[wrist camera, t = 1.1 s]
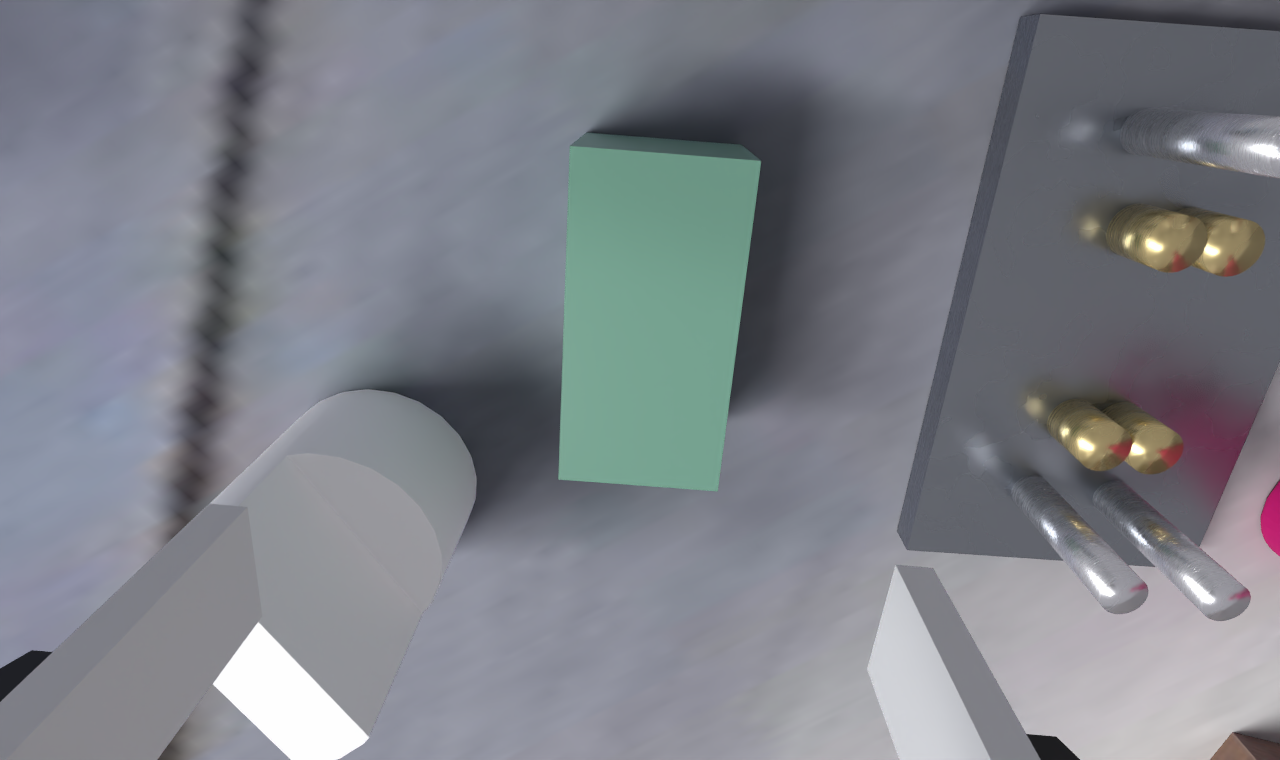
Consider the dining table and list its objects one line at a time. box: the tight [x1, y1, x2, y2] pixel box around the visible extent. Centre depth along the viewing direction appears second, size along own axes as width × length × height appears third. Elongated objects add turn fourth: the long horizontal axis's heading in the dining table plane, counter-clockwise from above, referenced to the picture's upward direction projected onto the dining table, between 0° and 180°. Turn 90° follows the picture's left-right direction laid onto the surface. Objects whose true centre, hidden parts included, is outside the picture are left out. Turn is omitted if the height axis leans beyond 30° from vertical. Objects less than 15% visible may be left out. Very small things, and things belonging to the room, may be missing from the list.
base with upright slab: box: [210, 389, 477, 760], centre depth 29 cm, size 9×9×12 cm
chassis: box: [897, 14, 1280, 621], centre depth 27 cm, size 22×13×8 cm, turn 176°
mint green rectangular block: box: [558, 133, 761, 491], centre depth 28 cm, size 12×6×6 cm, turn 176°
